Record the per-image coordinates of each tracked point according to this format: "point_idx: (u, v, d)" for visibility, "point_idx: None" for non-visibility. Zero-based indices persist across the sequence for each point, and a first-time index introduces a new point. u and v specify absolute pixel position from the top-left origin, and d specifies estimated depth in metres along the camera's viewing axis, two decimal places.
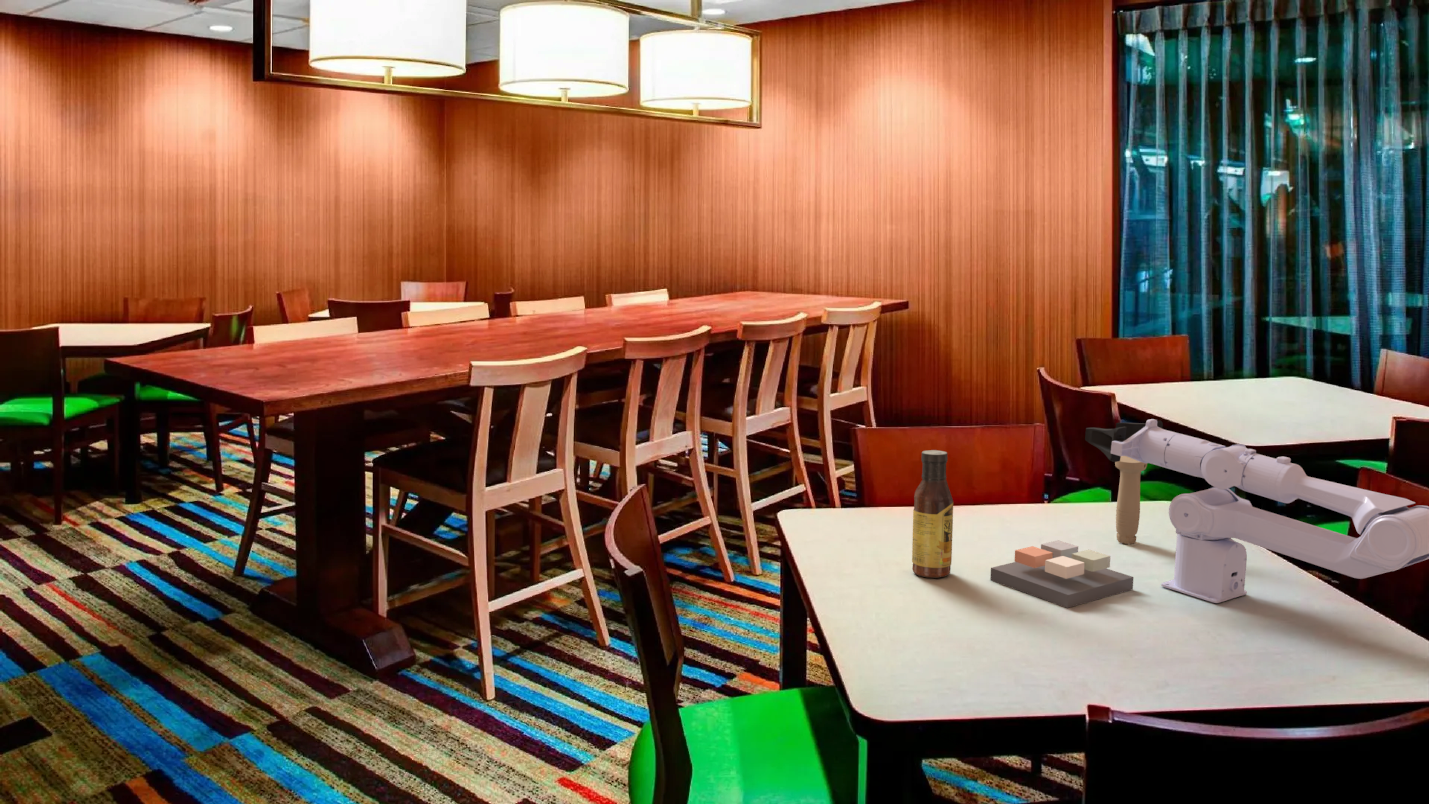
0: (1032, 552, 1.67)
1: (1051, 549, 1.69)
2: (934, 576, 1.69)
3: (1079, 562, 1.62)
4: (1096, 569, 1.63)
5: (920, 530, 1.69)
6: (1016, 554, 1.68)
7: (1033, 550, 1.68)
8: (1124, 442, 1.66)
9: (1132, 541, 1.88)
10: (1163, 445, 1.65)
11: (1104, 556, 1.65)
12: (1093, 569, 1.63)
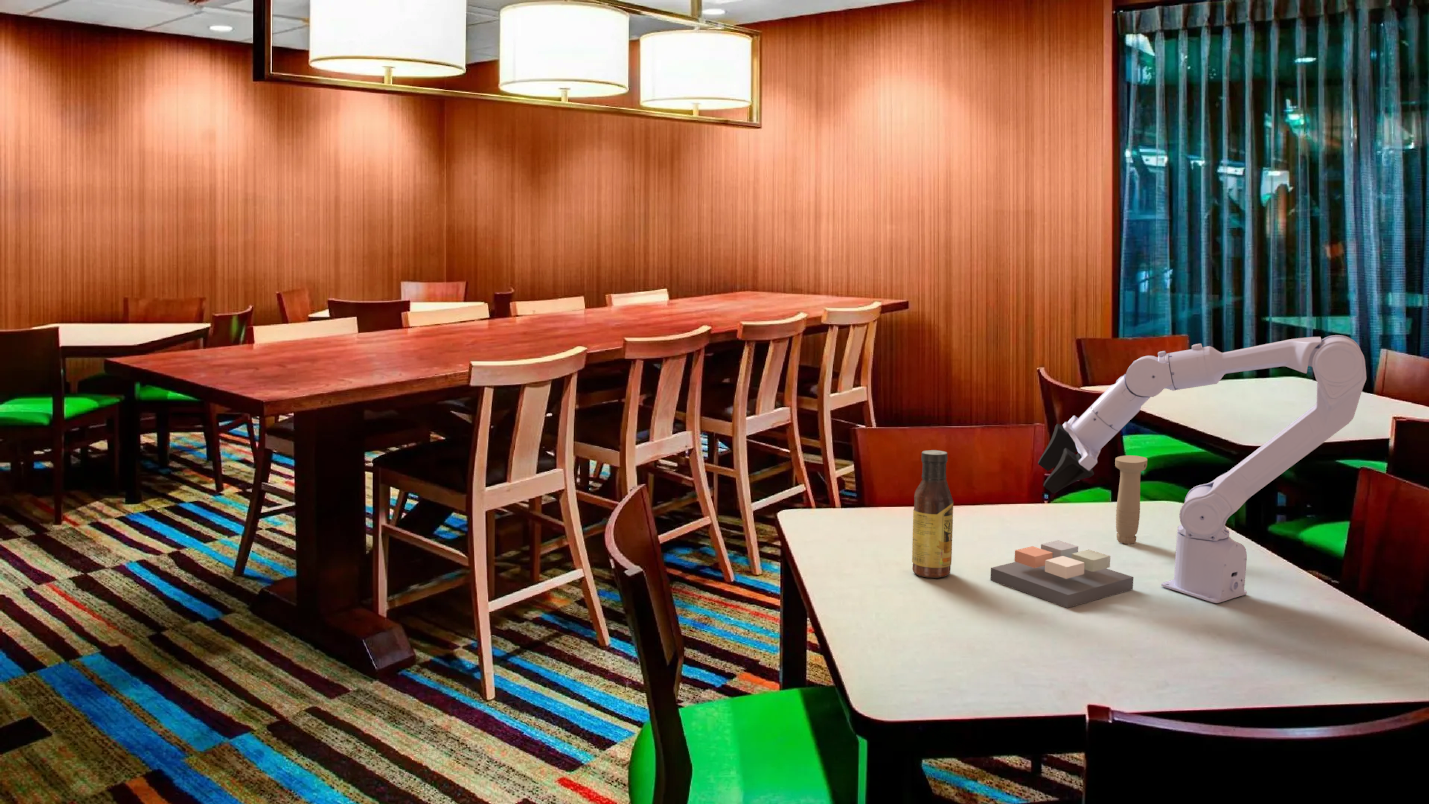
0: (1032, 552, 1.67)
1: (1051, 549, 1.69)
2: (934, 576, 1.69)
3: (1079, 562, 1.62)
4: (1096, 569, 1.63)
5: (920, 530, 1.69)
6: (1016, 554, 1.68)
7: (1033, 550, 1.68)
8: (1085, 453, 1.64)
9: (1132, 541, 1.88)
10: (1099, 423, 1.65)
11: (1104, 556, 1.65)
12: (1093, 569, 1.63)
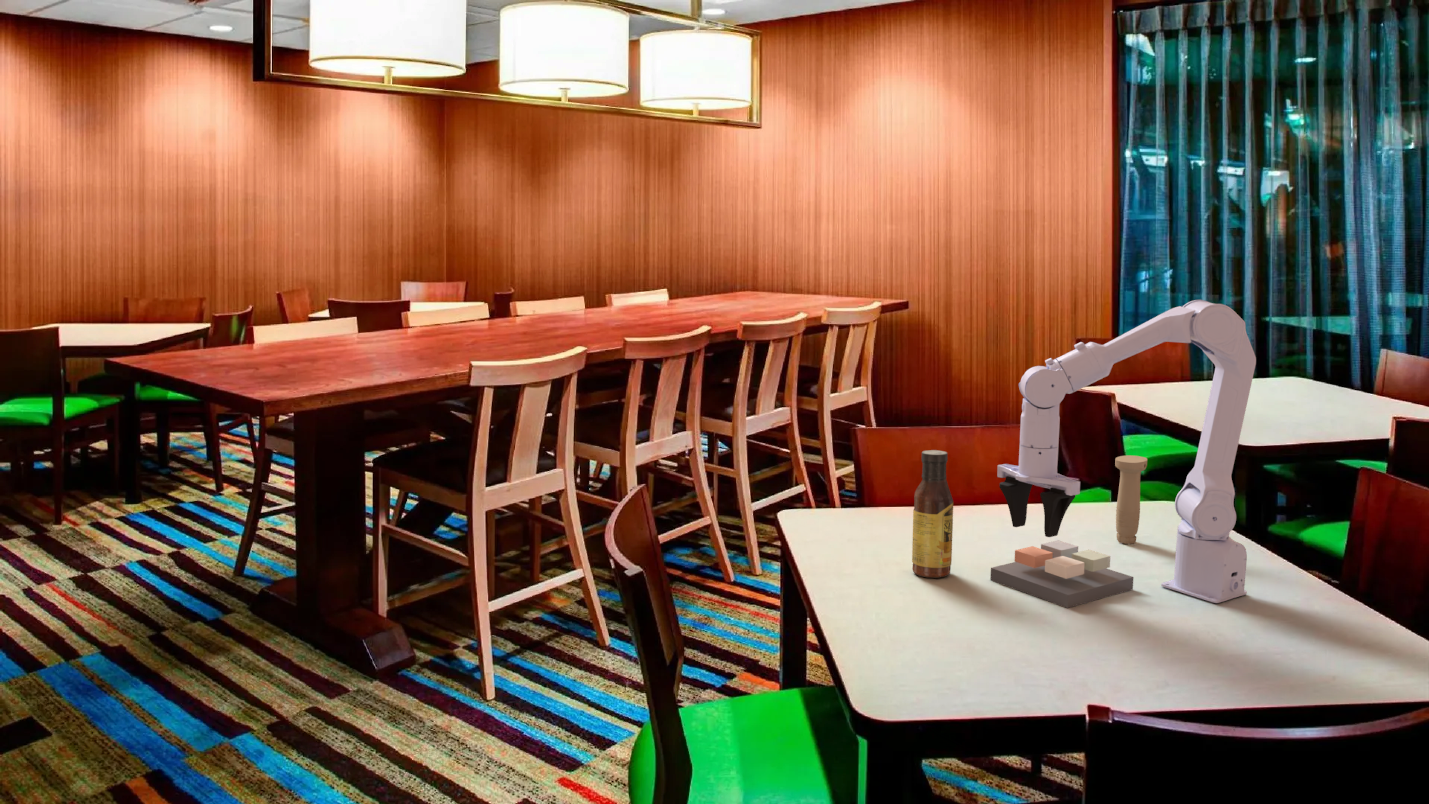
0: (1032, 552, 1.67)
1: (1051, 549, 1.69)
2: (934, 576, 1.69)
3: (1079, 562, 1.62)
4: (1096, 569, 1.63)
5: (920, 530, 1.69)
6: (1016, 554, 1.68)
7: (1033, 550, 1.68)
8: (1066, 484, 1.59)
9: (1132, 541, 1.88)
10: (1046, 452, 1.62)
11: (1104, 556, 1.65)
12: (1093, 569, 1.63)
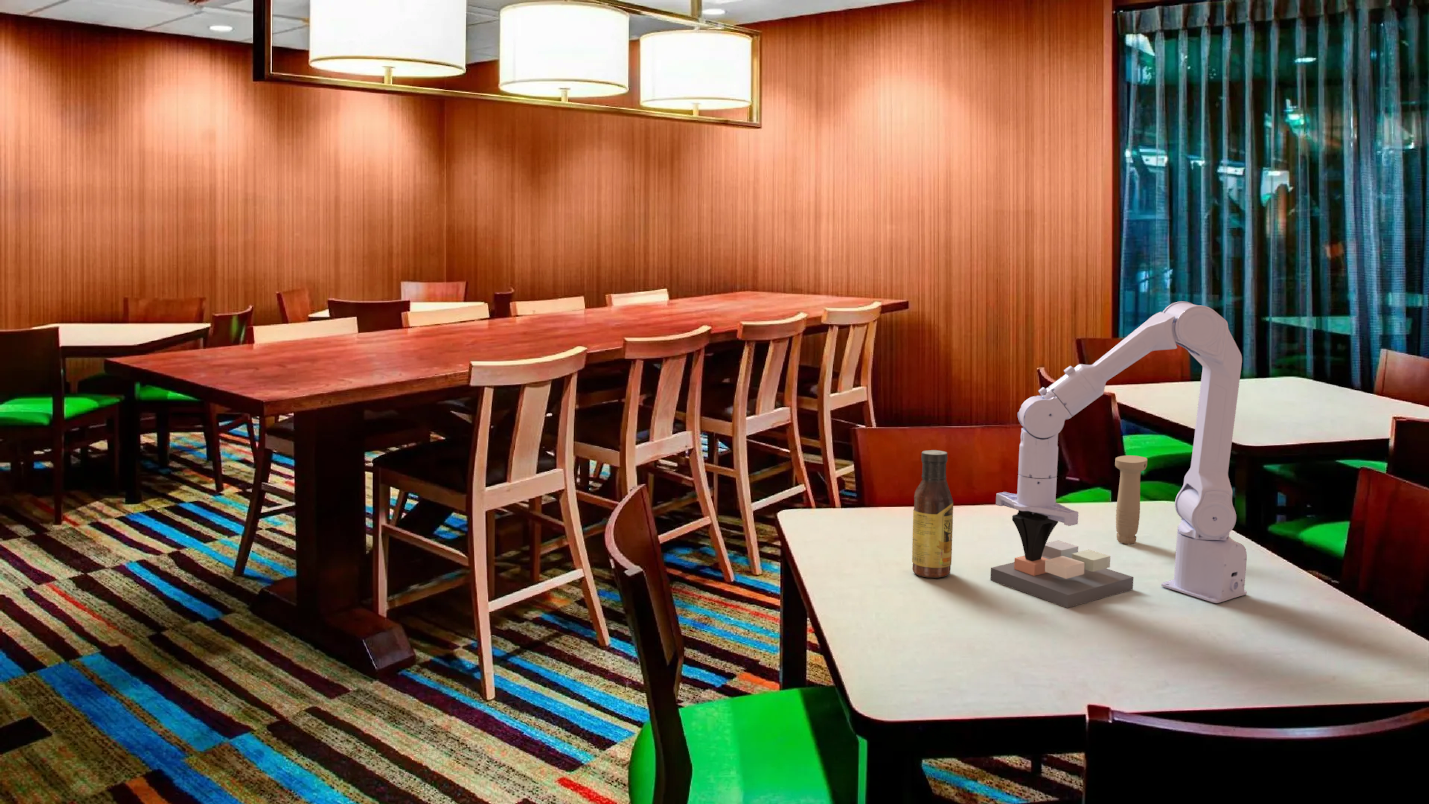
0: None
1: (1051, 549, 1.69)
2: (934, 576, 1.69)
3: (1079, 562, 1.62)
4: (1096, 569, 1.63)
5: (920, 530, 1.69)
6: (1016, 562, 1.68)
7: None
8: (1064, 514, 1.60)
9: (1132, 541, 1.88)
10: (1045, 482, 1.62)
11: (1104, 556, 1.65)
12: (1093, 569, 1.63)
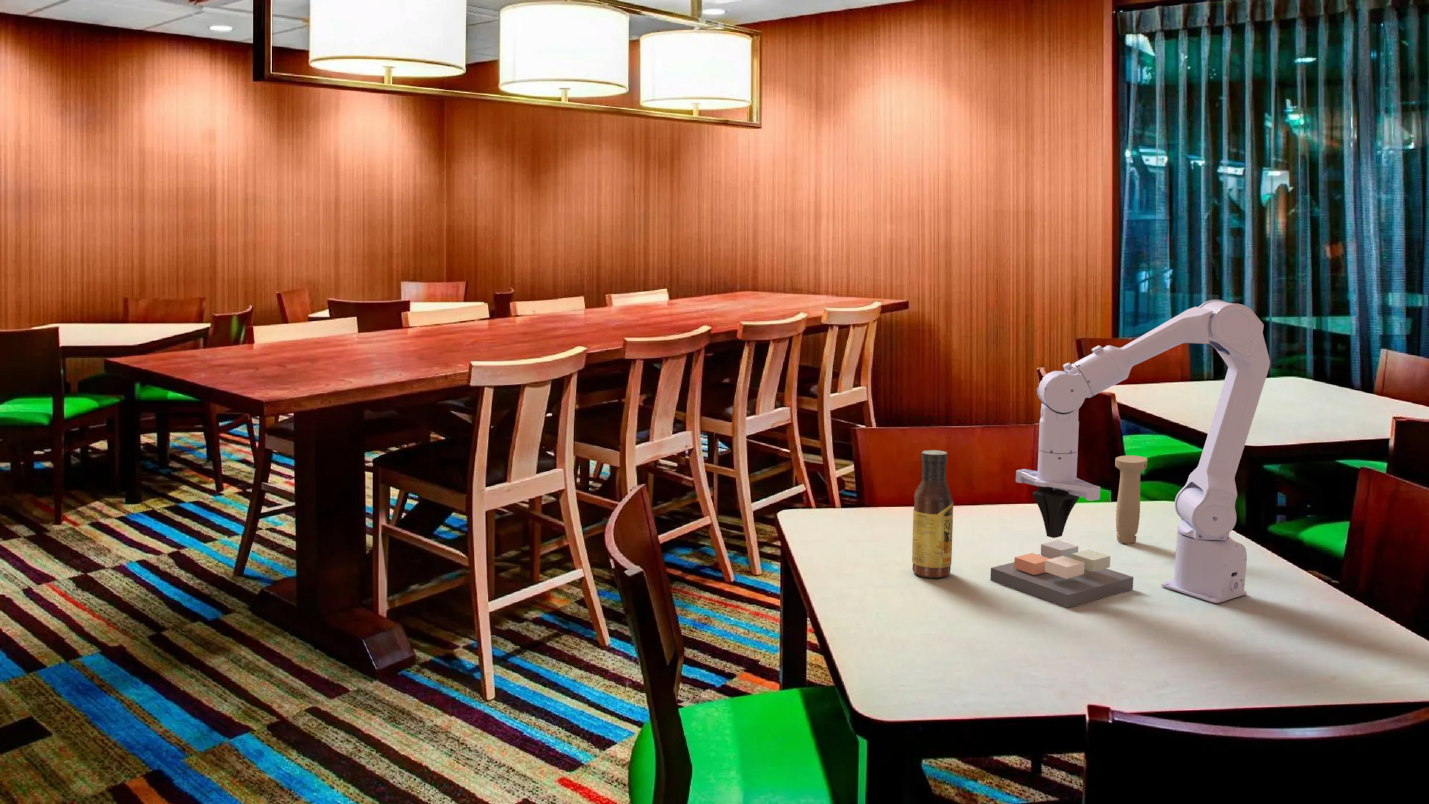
0: (1032, 559, 1.67)
1: (1051, 549, 1.69)
2: (934, 576, 1.69)
3: (1079, 562, 1.62)
4: (1096, 569, 1.63)
5: (920, 530, 1.69)
6: (1016, 561, 1.68)
7: (1032, 557, 1.68)
8: (1086, 489, 1.59)
9: (1132, 541, 1.88)
10: (1066, 457, 1.61)
11: (1104, 556, 1.65)
12: (1093, 569, 1.63)
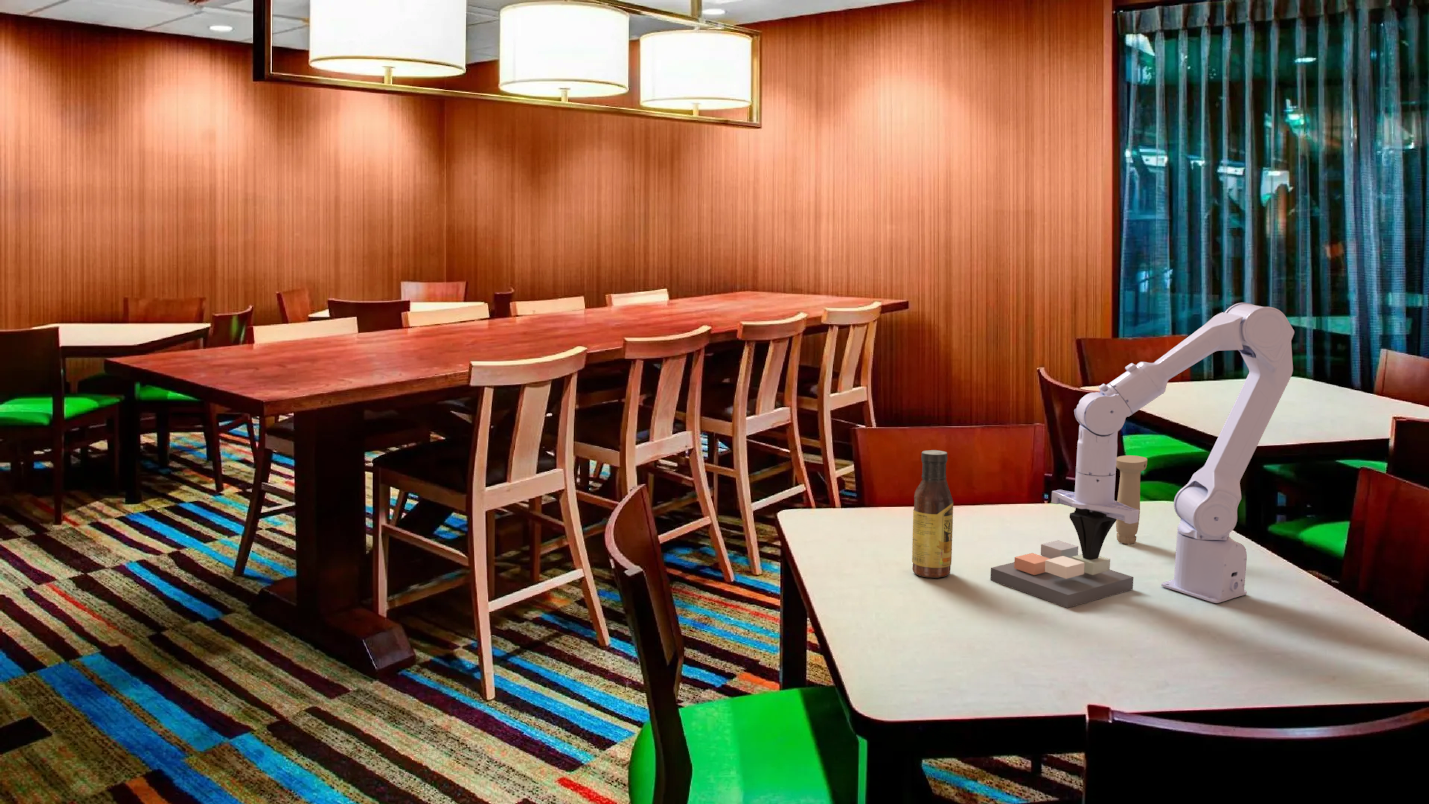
0: (1032, 559, 1.67)
1: (1051, 549, 1.69)
2: (934, 576, 1.69)
3: (1079, 562, 1.62)
4: (1096, 572, 1.63)
5: (920, 530, 1.69)
6: (1016, 561, 1.68)
7: (1032, 557, 1.68)
8: (1124, 512, 1.58)
9: (1132, 541, 1.88)
10: (1104, 479, 1.61)
11: (1104, 559, 1.65)
12: (1093, 572, 1.63)
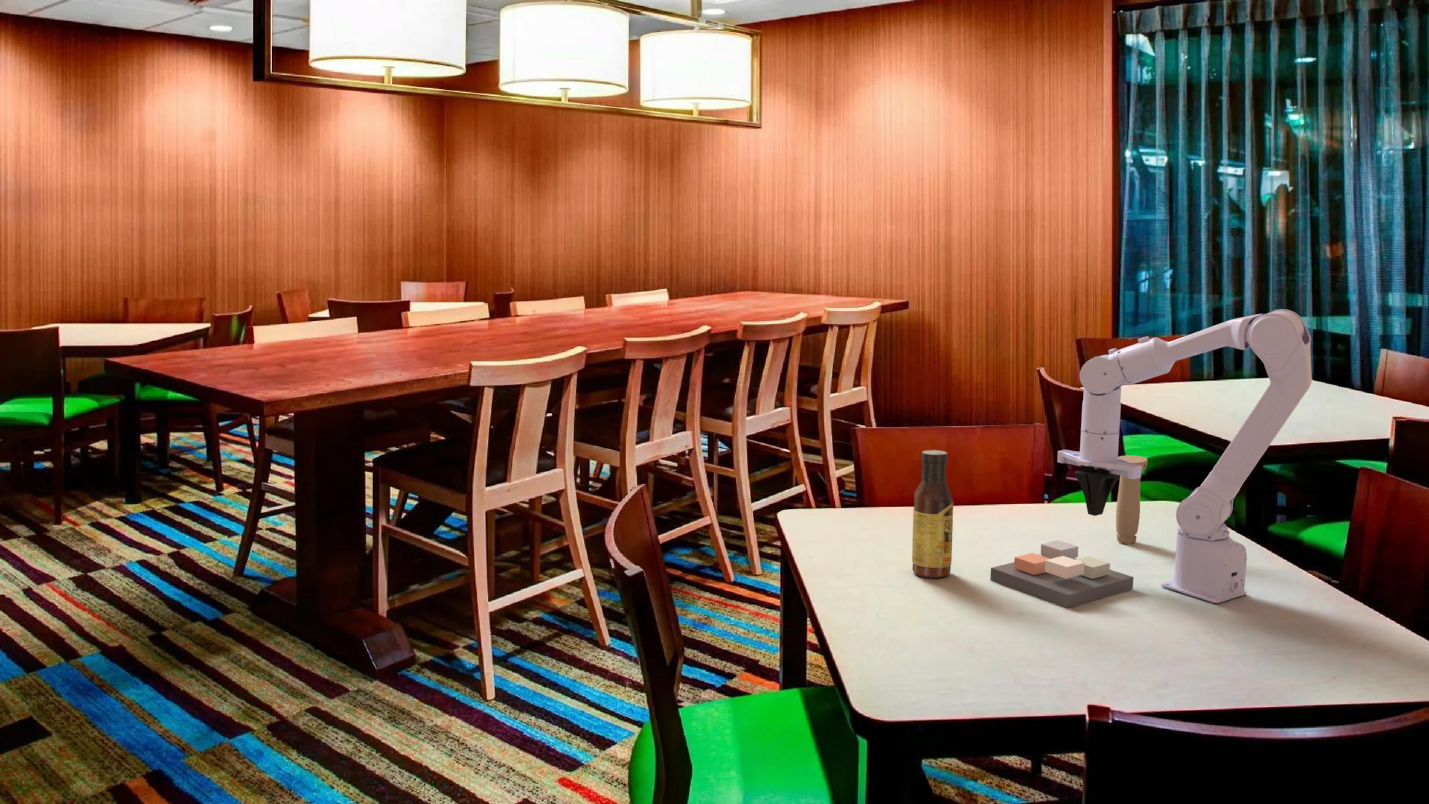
0: (1032, 559, 1.67)
1: (1051, 549, 1.69)
2: (934, 576, 1.69)
3: (1079, 562, 1.62)
4: (1096, 576, 1.64)
5: (920, 530, 1.69)
6: (1016, 561, 1.68)
7: (1032, 557, 1.68)
8: (1128, 468, 1.65)
9: (1132, 541, 1.88)
10: (1108, 437, 1.68)
11: (1104, 563, 1.65)
12: (1093, 576, 1.63)
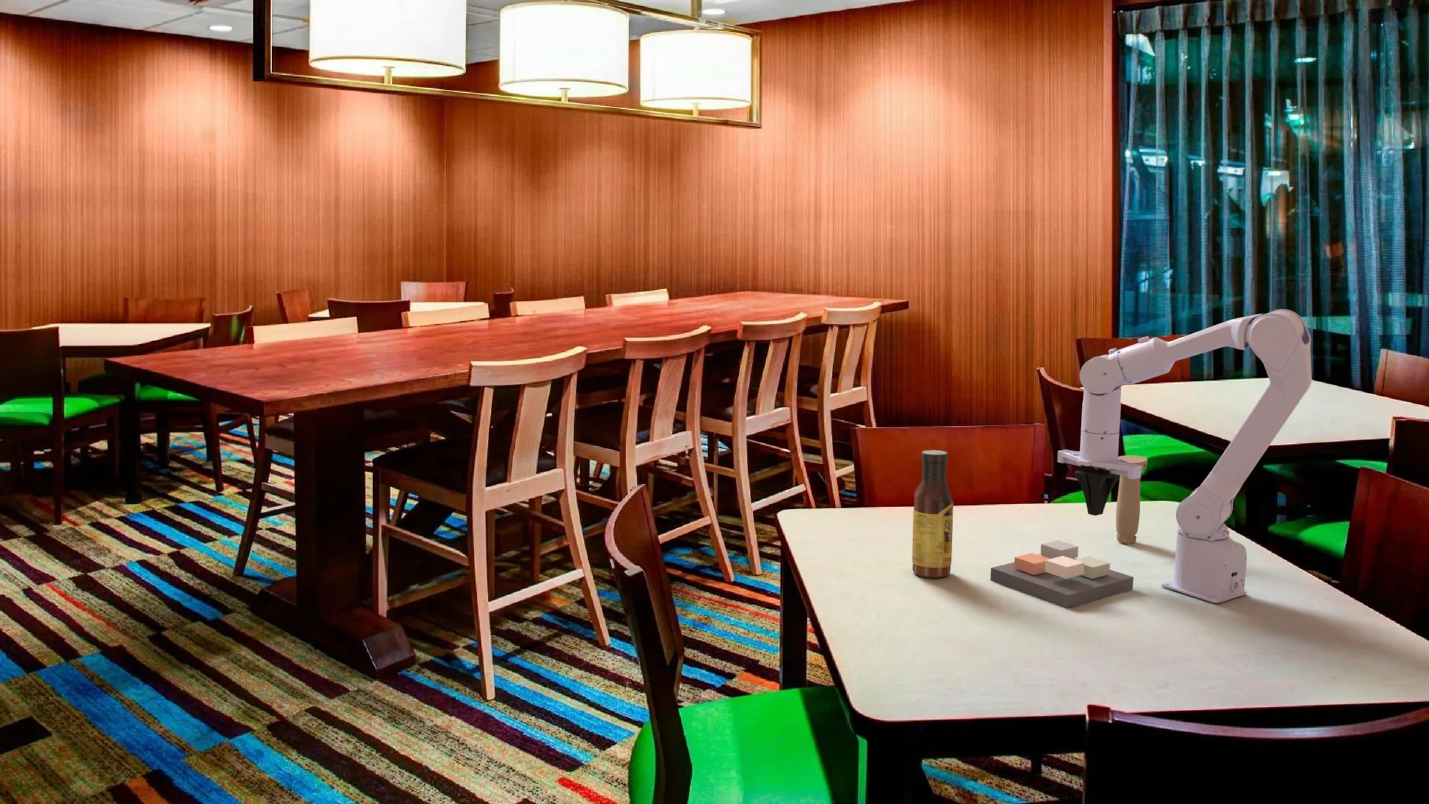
0: (1032, 559, 1.67)
1: (1051, 549, 1.69)
2: (934, 576, 1.69)
3: (1079, 562, 1.62)
4: (1096, 576, 1.64)
5: (920, 530, 1.69)
6: (1016, 561, 1.68)
7: (1032, 557, 1.68)
8: (1128, 468, 1.65)
9: (1132, 541, 1.88)
10: (1108, 437, 1.68)
11: (1104, 563, 1.65)
12: (1093, 576, 1.63)
